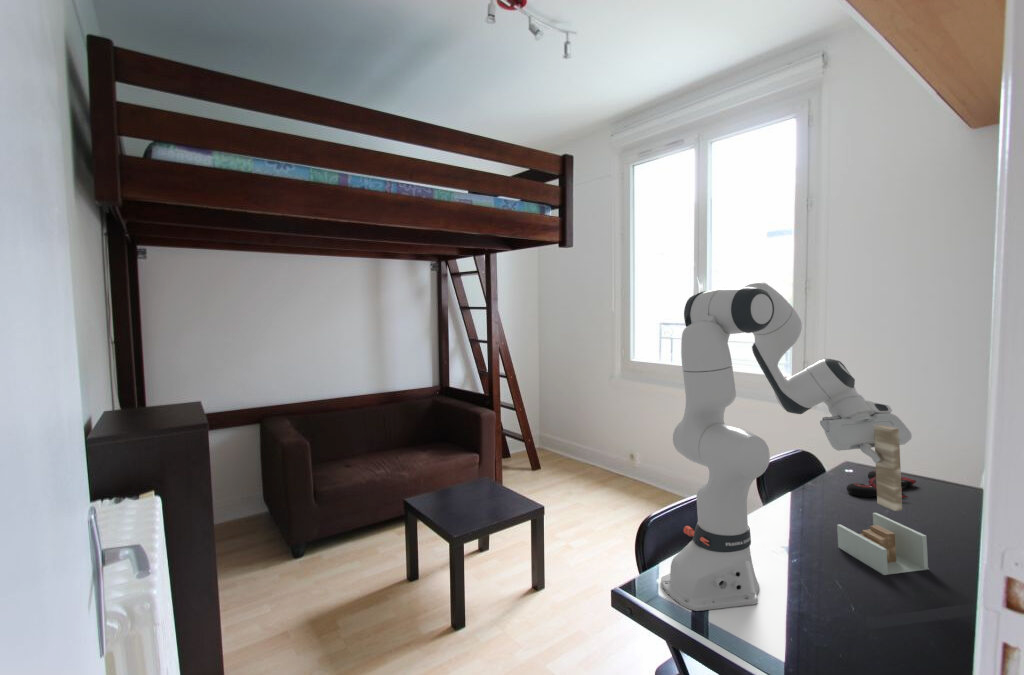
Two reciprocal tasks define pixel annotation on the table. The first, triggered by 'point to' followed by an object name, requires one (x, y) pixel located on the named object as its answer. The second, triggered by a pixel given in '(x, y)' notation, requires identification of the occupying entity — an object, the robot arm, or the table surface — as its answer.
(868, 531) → the offcut stack
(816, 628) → the table surface
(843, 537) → the offcut rack
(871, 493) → the toy motorcycle
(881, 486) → the birch board
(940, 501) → the table surface
